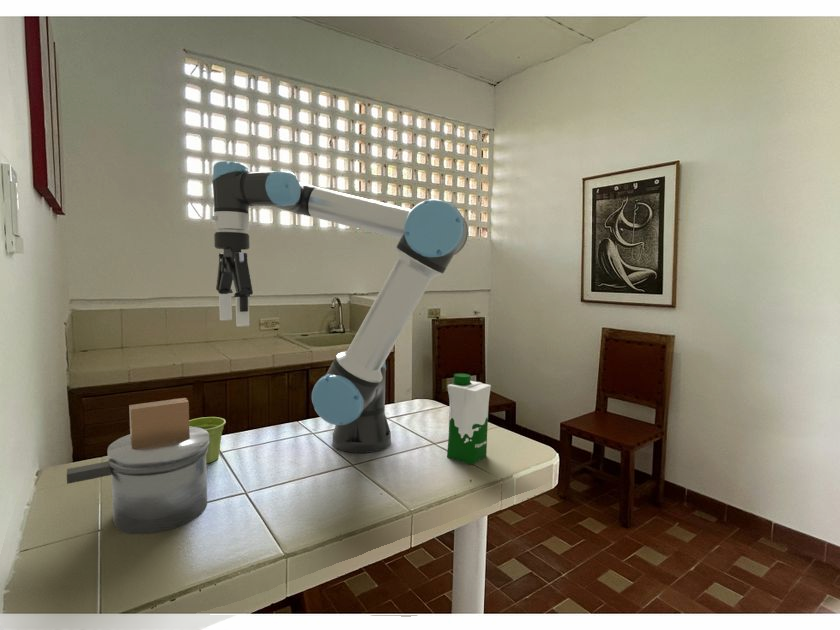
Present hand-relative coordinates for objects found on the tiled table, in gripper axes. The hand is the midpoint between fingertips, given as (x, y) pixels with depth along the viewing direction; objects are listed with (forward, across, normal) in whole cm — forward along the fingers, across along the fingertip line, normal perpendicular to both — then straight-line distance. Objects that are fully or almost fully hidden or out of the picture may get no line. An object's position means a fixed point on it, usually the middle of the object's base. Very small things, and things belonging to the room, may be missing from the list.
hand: (233, 323), depth 109 cm
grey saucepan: (+31, +20, -22) cm, 43 cm away
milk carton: (+32, +34, +44) cm, 65 cm away
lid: (+20, +20, -19) cm, 34 cm away
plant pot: (+32, 0, -7) cm, 33 cm away
